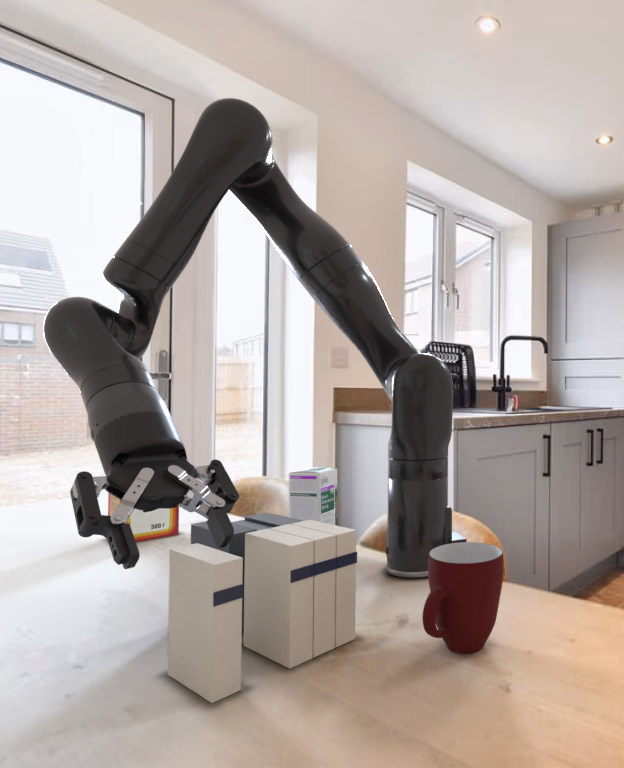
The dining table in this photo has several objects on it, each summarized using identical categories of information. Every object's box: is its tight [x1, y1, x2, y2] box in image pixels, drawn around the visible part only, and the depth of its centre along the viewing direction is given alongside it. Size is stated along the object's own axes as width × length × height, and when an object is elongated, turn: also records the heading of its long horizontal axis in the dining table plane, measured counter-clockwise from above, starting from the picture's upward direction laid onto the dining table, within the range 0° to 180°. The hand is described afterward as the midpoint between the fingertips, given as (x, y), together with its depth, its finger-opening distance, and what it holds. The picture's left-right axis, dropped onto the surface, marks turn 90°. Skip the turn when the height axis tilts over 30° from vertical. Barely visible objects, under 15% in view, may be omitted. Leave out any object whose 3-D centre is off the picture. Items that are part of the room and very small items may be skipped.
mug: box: [422, 541, 504, 655], centre depth 57 cm, size 10×8×10 cm
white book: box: [167, 543, 243, 704], centre depth 51 cm, size 3×9×12 cm, turn 55°
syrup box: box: [288, 466, 339, 526], centre depth 90 cm, size 6×6×14 cm
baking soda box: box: [107, 492, 180, 543], centre depth 102 cm, size 10×6×16 cm
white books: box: [243, 520, 358, 670], centre depth 59 cm, size 8×9×12 cm
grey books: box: [190, 511, 303, 633], centre depth 66 cm, size 10×9×11 cm
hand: (182, 552), depth 54 cm, fingers open, 8 cm apart
